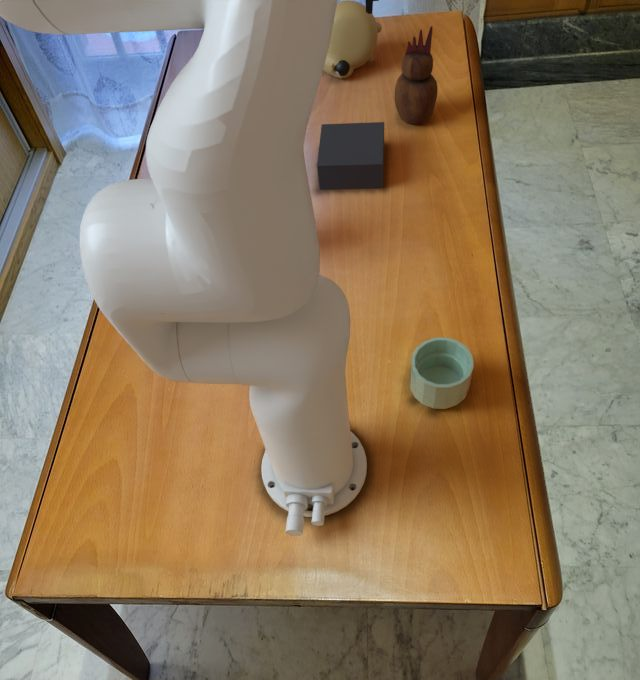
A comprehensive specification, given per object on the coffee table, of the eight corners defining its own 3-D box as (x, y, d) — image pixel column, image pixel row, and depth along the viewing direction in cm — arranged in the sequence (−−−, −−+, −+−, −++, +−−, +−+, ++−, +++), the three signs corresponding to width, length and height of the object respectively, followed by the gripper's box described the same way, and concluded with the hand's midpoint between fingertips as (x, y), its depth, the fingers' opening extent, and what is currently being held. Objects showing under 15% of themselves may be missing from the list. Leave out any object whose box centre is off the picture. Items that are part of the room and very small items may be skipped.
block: (382, 188, 99) (382, 163, 96) (319, 189, 101) (316, 165, 97) (384, 146, 104) (384, 121, 100) (323, 148, 105) (321, 124, 102)
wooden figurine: (440, 114, 107) (448, 21, 94) (424, 134, 105) (430, 41, 92) (405, 103, 109) (408, 11, 96) (389, 123, 107) (389, 31, 94)
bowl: (469, 411, 78) (474, 387, 74) (409, 411, 79) (411, 386, 74) (467, 363, 82) (472, 337, 77) (410, 363, 83) (411, 337, 78)
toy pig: (332, 75, 121) (295, 56, 113) (360, 7, 116) (323, -18, 108) (367, 94, 117) (331, 76, 109) (398, 25, 111) (362, 0, 103)
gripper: (210, -169, 56) (247, 32, 70) (409, -187, 54) (404, 24, 68) (222, -201, 59) (255, -4, 74) (409, -220, 57) (404, -13, 72)
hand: (326, 9), depth 71 cm, fingers open, 9 cm apart
